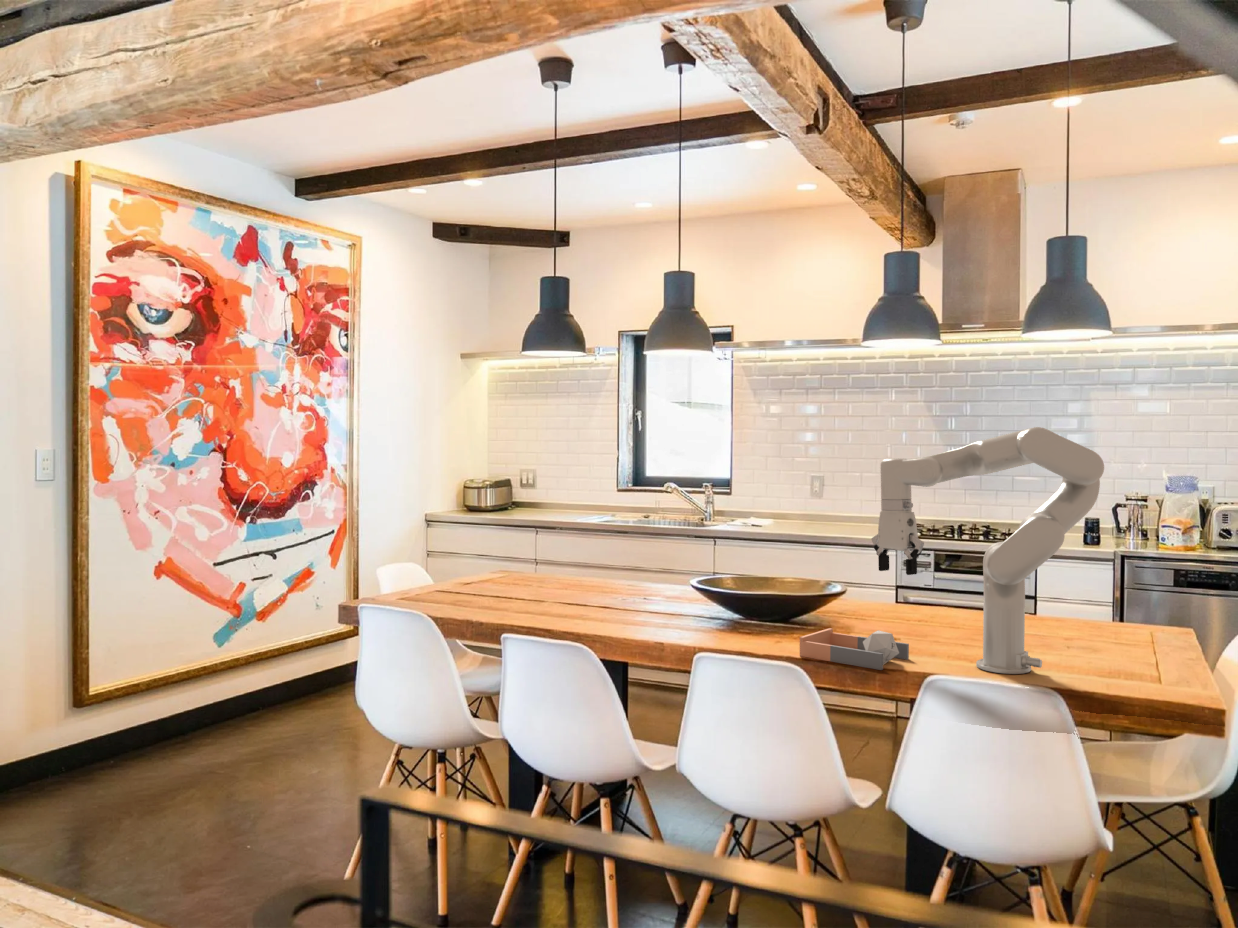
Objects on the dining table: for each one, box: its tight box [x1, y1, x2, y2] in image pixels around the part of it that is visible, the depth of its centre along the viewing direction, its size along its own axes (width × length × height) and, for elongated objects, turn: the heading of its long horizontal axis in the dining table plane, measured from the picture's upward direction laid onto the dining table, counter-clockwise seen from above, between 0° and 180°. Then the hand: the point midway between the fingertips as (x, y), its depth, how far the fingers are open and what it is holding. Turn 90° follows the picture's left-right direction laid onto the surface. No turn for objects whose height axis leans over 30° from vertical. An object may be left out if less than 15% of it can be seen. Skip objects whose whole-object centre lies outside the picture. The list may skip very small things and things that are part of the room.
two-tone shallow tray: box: [799, 627, 910, 671], centre depth 239 cm, size 23×16×5 cm
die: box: [863, 630, 899, 666], centre depth 234 cm, size 8×9×10 cm
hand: (897, 572), depth 235 cm, fingers open, 9 cm apart
